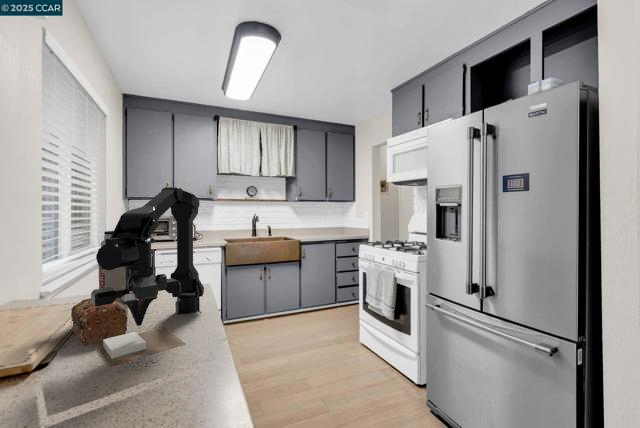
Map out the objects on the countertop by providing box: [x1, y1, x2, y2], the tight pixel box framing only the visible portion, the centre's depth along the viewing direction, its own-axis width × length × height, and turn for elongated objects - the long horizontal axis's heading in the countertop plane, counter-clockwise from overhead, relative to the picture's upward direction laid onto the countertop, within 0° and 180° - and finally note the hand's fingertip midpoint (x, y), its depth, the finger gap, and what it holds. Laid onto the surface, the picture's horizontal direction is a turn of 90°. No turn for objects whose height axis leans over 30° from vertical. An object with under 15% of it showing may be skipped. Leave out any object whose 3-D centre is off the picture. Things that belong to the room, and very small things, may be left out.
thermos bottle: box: [97, 230, 129, 316], centre depth 104 cm, size 8×8×28 cm
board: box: [96, 326, 187, 367], centre depth 79 cm, size 16×16×1 cm
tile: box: [102, 331, 146, 359], centre depth 76 cm, size 2×9×7 cm
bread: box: [70, 297, 129, 346], centre depth 88 cm, size 19×11×10 cm, turn 44°
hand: (138, 325), depth 78 cm, fingers closed
